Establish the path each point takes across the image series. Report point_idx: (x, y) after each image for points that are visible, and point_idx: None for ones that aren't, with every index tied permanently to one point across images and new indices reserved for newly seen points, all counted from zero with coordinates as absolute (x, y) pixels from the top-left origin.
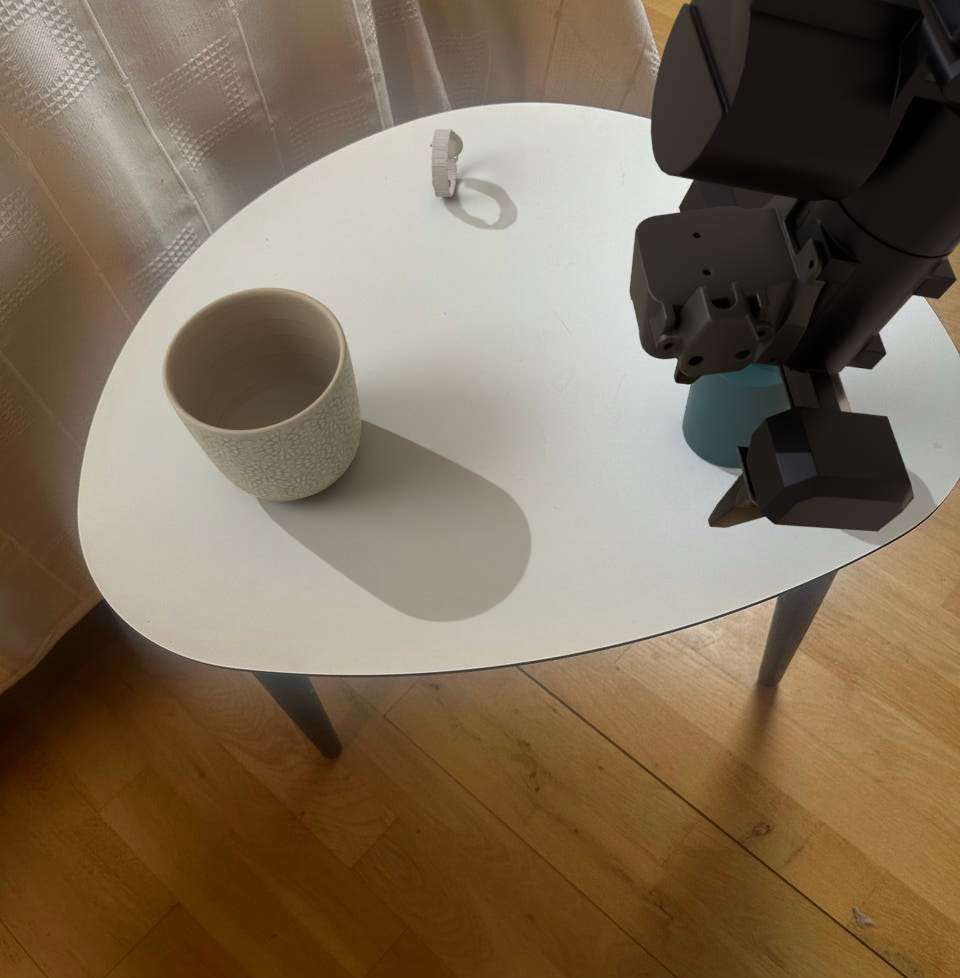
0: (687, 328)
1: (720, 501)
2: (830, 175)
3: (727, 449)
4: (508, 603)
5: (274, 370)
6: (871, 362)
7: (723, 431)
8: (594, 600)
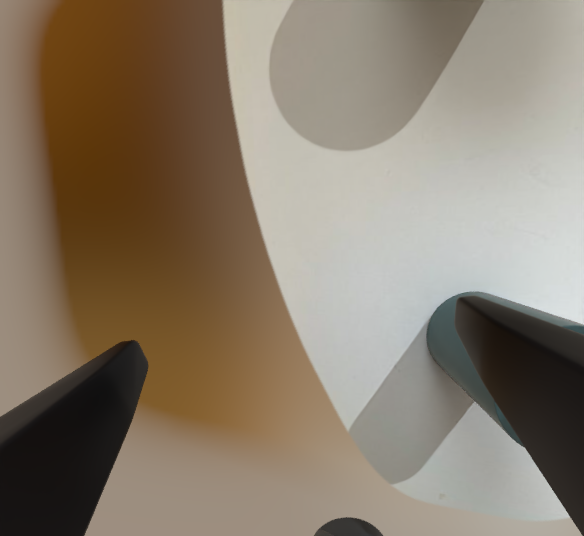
0: None
1: (76, 384)
2: None
3: (439, 332)
4: (288, 132)
5: None
6: None
7: (454, 333)
8: (293, 209)
